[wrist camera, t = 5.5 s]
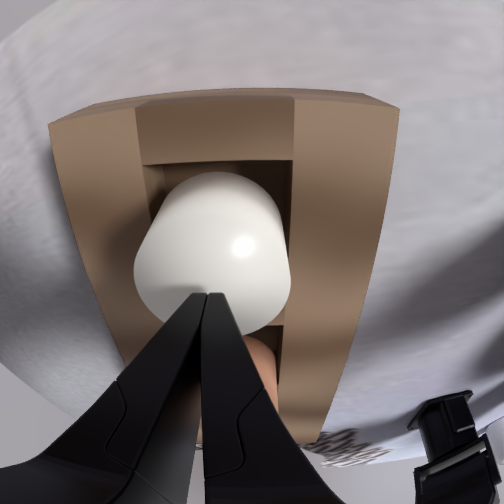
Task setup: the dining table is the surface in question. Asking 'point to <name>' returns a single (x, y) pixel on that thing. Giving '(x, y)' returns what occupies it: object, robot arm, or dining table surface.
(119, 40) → the dining table surface
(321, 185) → the knob mount
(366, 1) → the dining table surface
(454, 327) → the dining table surface
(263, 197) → the knob
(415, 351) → the dining table surface
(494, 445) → the eye dropper bottle
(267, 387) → the middle knob
